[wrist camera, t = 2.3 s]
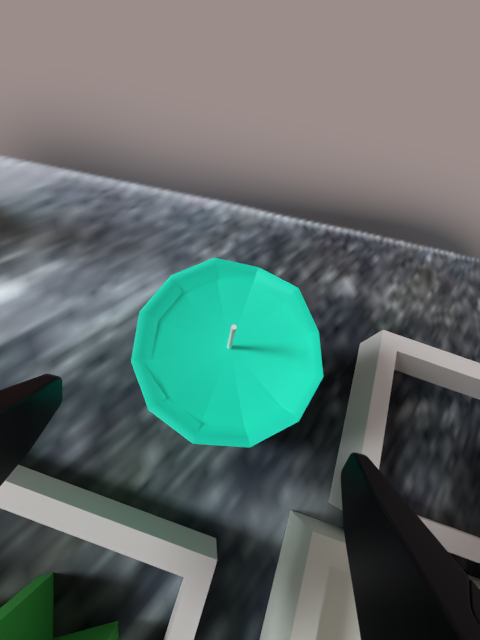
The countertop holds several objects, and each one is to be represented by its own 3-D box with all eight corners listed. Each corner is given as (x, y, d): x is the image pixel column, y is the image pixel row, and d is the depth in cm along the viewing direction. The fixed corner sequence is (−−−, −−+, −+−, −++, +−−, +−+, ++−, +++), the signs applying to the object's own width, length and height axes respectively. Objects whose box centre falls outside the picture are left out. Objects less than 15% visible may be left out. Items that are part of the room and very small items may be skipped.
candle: (250, 454, 18) (316, 493, 7) (154, 419, 18) (65, 399, 7) (278, 360, 20) (366, 269, 9) (193, 329, 20) (171, 202, 9)
